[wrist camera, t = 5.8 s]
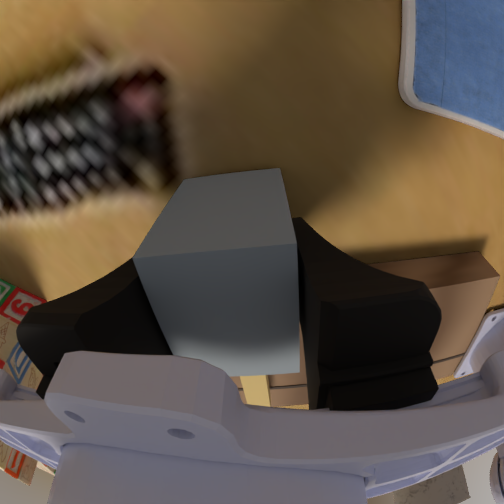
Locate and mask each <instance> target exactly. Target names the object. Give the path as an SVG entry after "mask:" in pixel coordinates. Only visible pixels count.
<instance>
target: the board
mask: <svg viewBox="0 0 504 504" xmlns="http://www.w3.org/2000/svg"><path fill="white" fill-rule="evenodd" d="M367 265H369V266H371V267H374V268H376V269H379V270H382V271H385V272H388V273H391V274H394V275H397V276H401V277H405V278H409V279H414V280H418V281H422V282H424V283H425V284H426V286H427V287H428V289H429V290H430V291H431V293H432V295H433V296H434V298H435V300H436V302H437V303H438V305H439V307H440V309H441V313H442V320H441V324H440V328H439V330H438V333H437V335H436V337H435V340H434V342H433V344H432V346H431V349H430V351H429V352H430V354H431V356H432V359H433V365H432V366H431V370H432V372H433V375H434V377H435V379H436V380H437V379H440V378H444V377H447V376H450V375H452V374H453V372H454V371H455V369H456V367H457V365H458V364H459V362H460V360H461V359H462V357H463V356H464V354H465V351H466V350H467V348H468V346H469V344H470V342H471V340H472V338H473V336H474V334H475V332H476V330H477V328H478V326H479V324H480V322H481V320H482V318H483V316H484V314H485V312H486V309H487V307H488V305H489V302H490V300H491V298H492V295H493V293H494V291H495V288H496V286H497V283H498V280H499V278H500V275H499V274H498V273H497V272H496V270H495V269H494V268H493V267H492V266H491V265H490V264H489V262H488V261H487V260H486V259H485V258H484V257H483V256H482V255H481V254H480V253H479V251H476V252H468V253H460V254H452V255H444V256H436V257H428V258H419V259H411V260H402V261H393V262H384V263H374V264H367ZM299 336H300V372H299V373H287V374H274V375H268V381H269V388H270V394H271V407H277V406H291V405H302V404H309V402H308V389H307V377H306V367H305V356H304V347H303V338H302V331H301V326H300V321H299ZM230 378H231V379H232V380H233V382H234V383H235V384H236V385H237V387H238V391H239V394H240V397H241V400H242V402H243V403H244V404H247V401H246V397H245V393H244V390H243V386H242V383H241V379H240V376H232V377H230Z"/></svg>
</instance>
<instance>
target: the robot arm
mask: <svg viewBox="0 0 504 504" xmlns="http://www.w3.org/2000/svg"><path fill="white" fill-rule="evenodd" d="M292 223H293V228H294V232H295V237H296V242H297V259H298V288H299V321H300V326H301V331H302V338H303V347H304V356H305V367H306V377H307V389H308V402H309V410H305V409H290V408H278V407H268V406H259V405H250V404H244V403H243V402H242V400H241V397H240V394H239V391H238V387H237V385H236V384H235V383H234V382H233V380H232V379H231V378H230V377H229V376H228V374H227V373H226V372H225V371H223V370H222V369H220V368H218V367H216V366H214V365H211V364H209V363H207V362H205V361H203V360H201V359H195V358H189V357H182V356H176V355H173V353H172V351H171V349H170V347H169V345H168V343H167V341H166V339H165V336H164V334H163V332H162V330H161V328H160V325H159V323H158V321H157V318H156V316H155V314H154V312H153V309H152V307H151V304H150V302H149V300H148V297H147V295H146V292H145V290H144V287H143V285H142V282H141V280H140V277H139V275H138V272H137V269H136V267H135V264H134V261H133V259H132V258H133V257H132V258H131V259H129V260H128V261H127V262H125V263H124V264H123V265H121V266H120V267H118V268H117V269H115V270H114V271H112V272H110V273H109V274H107V275H106V276H104V277H102V278H100V279H99V280H97V281H95V282H93V283H91V284H89V285H87V286H85V287H83V288H81V289H79V290H77V291H75V292H72V293H70V294H68V295H65V296H63V297H60V298H58V299H55V300H52V301H49V302H46V303H42V304H39V305H36V306H33V307H31V308H30V309H29V310H28V312H27V313H26V315H25V316H24V318H23V319H22V320H21V322H20V323H19V325H18V326H17V329H16V335H17V340H18V342H19V344H20V346H21V348H22V349H23V351H24V352H25V354H26V355H27V356H28V357H29V359H30V360H31V361H32V362H33V364H34V365H35V366H36V367H37V369H38V370H39V371H40V372H41V373H42V374H43V377H42V380H41V382H40V384H39V386H38V388H37V390H36V389H33V388H29V387H26V386H23V385H19V384H17V382H16V381H15V380H14V378H13V377H12V376H11V375H10V374H9V373H8V372H6V371H5V370H3V369H0V440H1V441H3V442H4V443H5V444H7V445H9V446H11V447H12V448H14V449H16V450H18V451H20V452H22V453H24V454H26V455H27V456H29V457H31V458H33V459H35V460H37V461H39V462H41V463H43V464H45V465H48V466H50V467H52V468H54V469H56V472H55V476H54V479H53V483H52V487H51V490H50V494H49V498H48V502H47V504H367V498H372V497H375V496H379V495H383V494H386V493H389V492H393V491H396V490H399V489H402V488H405V487H408V486H411V485H414V484H416V483H419V482H422V481H424V480H427V479H429V478H432V477H434V476H437V475H439V474H442V473H444V472H446V471H448V470H451V469H453V468H455V467H457V466H460V465H462V464H464V463H466V462H468V461H470V460H472V459H474V458H476V457H478V456H480V455H482V454H484V453H486V452H488V451H490V450H492V449H493V448H495V447H496V449H497V451H498V452H497V453H496V454H495V456H494V458H493V462H492V465H491V470H490V486H491V491H492V495H493V497H494V500H495V502H496V503H497V504H504V308H502V309H499V310H495V311H492V312H489V313H487V314H486V315H485V316H484V318H483V320H482V322H481V324H480V326H479V328H478V330H477V332H476V334H475V336H474V338H473V340H472V342H471V344H470V346H469V347H468V349H467V351H466V353H465V355H464V356H463V358H462V360H461V362H460V363H459V365H458V367H457V368H456V370H455V372H454V374H453V375H454V378H458V377H461V376H464V375H467V374H470V373H473V372H474V374H471V375H468V376H465V377H462V378H459V379H456V380H453V381H450V382H447V383H443V384H440V385H437V382H436V379H435V377H434V375H433V372H432V370H431V366H432V365H433V359H432V356H431V354H430V352H429V351H430V349H431V346H432V344H433V342H434V340H435V337H436V335H437V333H438V330H439V328H440V324H441V320H442V313H441V309H440V307H439V305H438V303H437V302H436V300H435V298H434V296H433V295H432V293H431V291H430V290H429V289H428V287H427V286H426V284H425V283H424V282H422V281H418V280H414V279H409V278H405V277H401V276H397V275H394V274H391V273H388V272H385V271H382V270H379V269H376V268H374V267H371V266H369V265H367V264H365V263H362V262H360V261H358V260H356V259H354V258H353V257H351V256H349V255H347V254H346V253H344V252H342V251H341V250H339V249H338V248H336V247H335V246H333V245H332V244H331V243H329V242H328V241H326V240H325V239H324V238H323V237H322V236H320V235H319V234H318V233H317V232H316V231H315V230H314V229H313V228H312V227H311V226H309V225H308V224H307V223H306V222H305V221H304V220H303V219H302V218H301V217H299V218H292Z"/></svg>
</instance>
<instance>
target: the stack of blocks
mask: <svg viewBox="0 0 504 504" xmlns="http://www.w3.org/2000/svg"><path fill="white" fill-rule="evenodd" d="M46 302H47V301H46V300H44V299H42V298H39V297H37V296H35V295H33V294H31V293H29V292H27V291H25V290H22V289H20V288H18V287H15V286H13V285H11V284H9V283H7V282H6V281H4V280H2V279H0V369H3V370H5V371H6V372H8V373H9V374H10V375H11V376H12V377H13V378H14V380H15V381H16V382H17V384H19V385H23V386H26V387H29V388H33V389H36V390H37V388H38V386H39V384H40V382H41V380H42V377H43V374H42V373H41V372H40V371H39V370H38V369H37V367H36V366H35V365H34V364H33V362H32V361H31V360H30V359H29V357H28V356H27V355H26V354H25V352H24V351H23V349H22V348H21V346H20V344H19V342H18V340H17V335H16V329H17V326H18V325H19V323H20V322H21V320H22V319H23V318H24V316H25V315H26V313H27V312H28V310H29V309H30V308H31V307H33V306H36V305H39V304H42V303H46ZM36 467H38V468H40V469H42V470H44V471H46V472H48V473H50V474H52V475H54V476H55V472H56V469H54V468H52V467H50V466H48V465H45V464H43V463H41V462H39V461H37V460H35V459H33V458H31V457H29V456H27V455H26V454H24V453H22V452H20V451H18V450H16V449H14V448H12V447H11V446H9V445H7V444H5V443H4V442H3V441H1V440H0V469H1V470H3V471H4V472H6V473H8V474H9V475H11V476H12V477H14V478H16V479H18V480H19V481H22V482H23V483H25V484H27V485H29V486H30V484H31V480H32V478H33V474H34V471H35V468H36Z"/></svg>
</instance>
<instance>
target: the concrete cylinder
mask: <svg viewBox="0 0 504 504" xmlns="http://www.w3.org/2000/svg"><path fill="white" fill-rule="evenodd" d="M393 496H394V502H395V504H458V503H460V502H462V501H464V500H466V499H469V498H470V496H469V492H468V487H467V483H466V479H465V475H464V471H463V467H462V465H460V466H457V467H455V468H453V469H451V470H448V471H446V472H444V473H442V474H439V475H437V476H434V477H432V478H429V479H427V480H424V481H422V482H419V483H416V484H414V485H411V486H408V487H405V488H402V489H399V490H396V491H393Z"/></svg>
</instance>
